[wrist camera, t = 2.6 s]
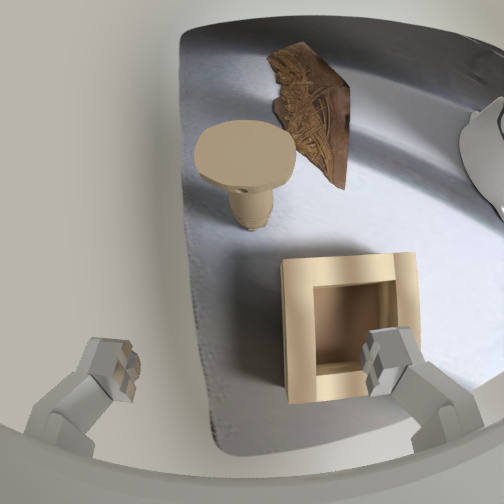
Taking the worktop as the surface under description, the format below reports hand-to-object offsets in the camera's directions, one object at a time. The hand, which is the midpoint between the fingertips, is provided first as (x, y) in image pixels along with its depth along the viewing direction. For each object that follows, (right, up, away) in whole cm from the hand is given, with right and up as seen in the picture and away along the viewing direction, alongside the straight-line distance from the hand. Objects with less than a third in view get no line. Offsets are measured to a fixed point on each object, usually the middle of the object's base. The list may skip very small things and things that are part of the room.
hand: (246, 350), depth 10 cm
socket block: (+10, -4, +21) cm, 23 cm away
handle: (0, +7, +23) cm, 24 cm away
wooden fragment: (+9, +23, +26) cm, 36 cm away
